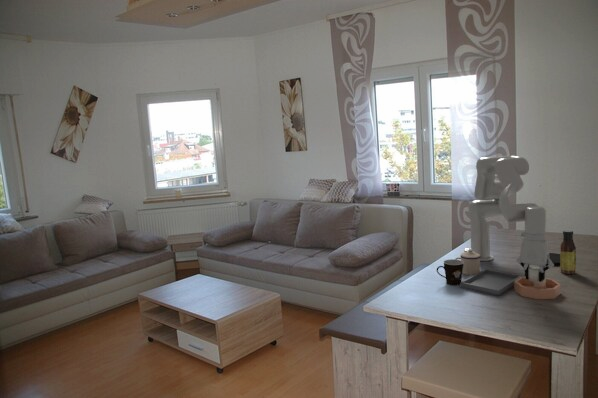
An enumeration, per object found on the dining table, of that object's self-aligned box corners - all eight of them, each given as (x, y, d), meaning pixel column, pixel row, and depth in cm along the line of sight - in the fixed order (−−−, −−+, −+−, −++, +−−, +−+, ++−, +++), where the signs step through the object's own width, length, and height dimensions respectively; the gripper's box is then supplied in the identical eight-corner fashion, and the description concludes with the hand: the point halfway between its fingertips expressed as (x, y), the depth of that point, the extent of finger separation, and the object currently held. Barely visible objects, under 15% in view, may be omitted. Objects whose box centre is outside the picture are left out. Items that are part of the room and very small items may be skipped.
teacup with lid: (482, 271, 220) (481, 248, 218) (478, 276, 212) (478, 252, 211) (456, 268, 226) (456, 246, 224) (452, 274, 218) (452, 250, 217)
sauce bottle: (577, 274, 206) (579, 232, 203) (563, 274, 207) (563, 232, 204) (572, 270, 212) (573, 229, 209) (557, 270, 214) (558, 229, 211)
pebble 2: (531, 288, 191) (531, 276, 190) (535, 285, 194) (536, 273, 194) (543, 290, 188) (543, 278, 187) (547, 287, 191) (547, 275, 190)
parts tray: (460, 287, 200) (460, 282, 199) (485, 273, 216) (485, 268, 215) (498, 296, 187) (498, 290, 187) (522, 280, 203) (522, 275, 203)
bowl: (509, 293, 190) (509, 284, 189) (524, 282, 200) (524, 274, 200) (550, 302, 178) (550, 292, 177) (564, 290, 189) (564, 281, 188)
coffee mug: (463, 280, 209) (463, 259, 207) (464, 286, 201) (463, 265, 199) (437, 279, 213) (437, 259, 211) (436, 285, 204) (436, 264, 203)
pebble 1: (526, 280, 186) (526, 268, 186) (530, 277, 189) (530, 266, 189) (538, 282, 183) (538, 270, 182) (542, 279, 186) (542, 268, 185)
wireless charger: (533, 265, 224) (534, 261, 224) (530, 255, 240) (530, 252, 240) (575, 267, 217) (575, 263, 217) (568, 257, 234) (568, 253, 233)
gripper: (509, 236, 187) (509, 278, 190) (554, 241, 175) (553, 286, 177) (517, 232, 192) (517, 273, 195) (560, 237, 180) (560, 281, 182)
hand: (534, 279), depth 186 cm, fingers closed on pebble 1, 4 cm apart
